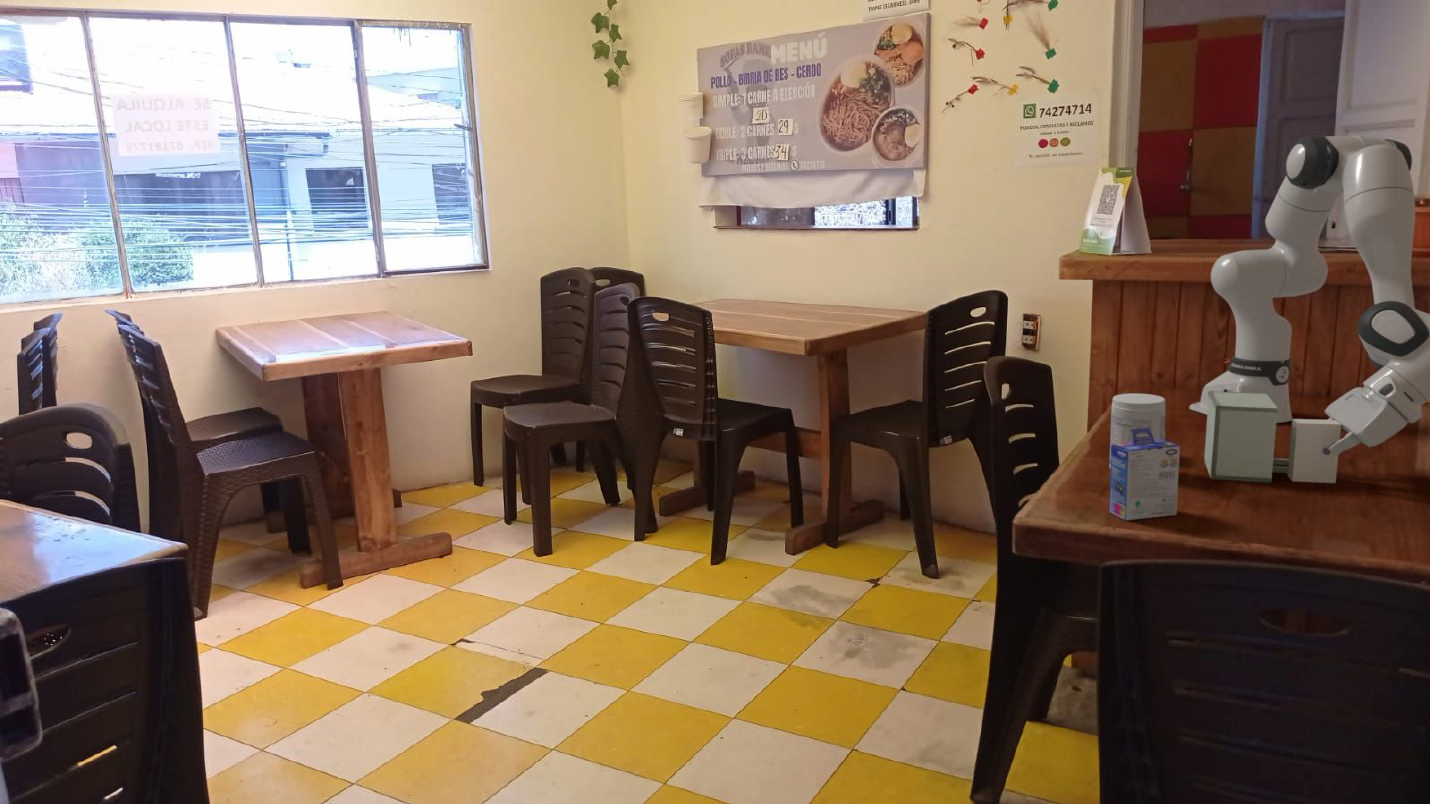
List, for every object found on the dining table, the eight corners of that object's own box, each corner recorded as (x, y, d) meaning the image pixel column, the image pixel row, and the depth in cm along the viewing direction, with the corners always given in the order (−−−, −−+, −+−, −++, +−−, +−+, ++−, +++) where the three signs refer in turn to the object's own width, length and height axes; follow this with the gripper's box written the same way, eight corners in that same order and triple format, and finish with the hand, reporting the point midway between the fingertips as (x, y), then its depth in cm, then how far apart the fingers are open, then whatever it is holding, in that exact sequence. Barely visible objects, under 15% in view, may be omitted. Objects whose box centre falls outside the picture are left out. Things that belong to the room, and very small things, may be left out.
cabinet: (1309, 464, 191) (1316, 394, 188) (1324, 486, 178) (1332, 410, 175) (1203, 458, 198) (1208, 390, 195) (1210, 478, 184) (1216, 405, 182)
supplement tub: (1133, 463, 197) (1137, 390, 194) (1173, 474, 188) (1178, 398, 185) (1097, 470, 193) (1101, 396, 190) (1137, 481, 184) (1141, 405, 181)
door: (1329, 477, 183) (1335, 420, 180) (1336, 483, 179) (1342, 425, 177) (1287, 476, 185) (1292, 418, 182) (1293, 482, 181) (1298, 423, 179)
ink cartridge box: (1157, 506, 170) (1162, 424, 167) (1178, 516, 165) (1184, 432, 162) (1106, 511, 168) (1110, 429, 165) (1125, 521, 163) (1130, 437, 160)
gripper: (1358, 371, 185) (1295, 420, 190) (1398, 393, 166) (1327, 447, 171) (1382, 395, 185) (1319, 444, 190) (1426, 419, 166) (1354, 473, 171)
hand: (1323, 445), depth 180 cm, fingers open, 8 cm apart
